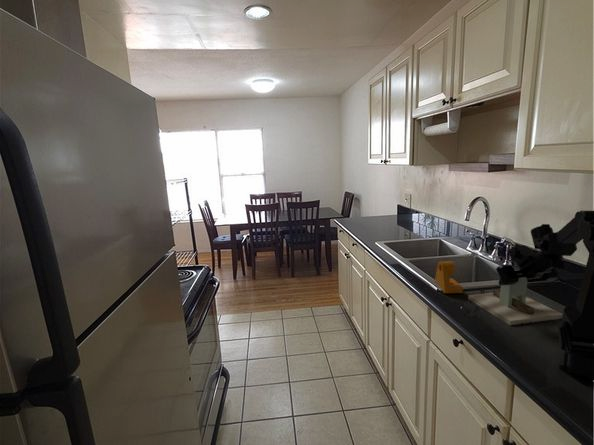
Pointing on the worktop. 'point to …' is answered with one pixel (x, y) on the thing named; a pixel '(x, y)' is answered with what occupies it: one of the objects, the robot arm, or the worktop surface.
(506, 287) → the grey-green notched block
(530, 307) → the cleat board
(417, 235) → the worktop surface
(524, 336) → the worktop surface
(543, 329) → the worktop surface
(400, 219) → the worktop surface
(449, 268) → the bracket
